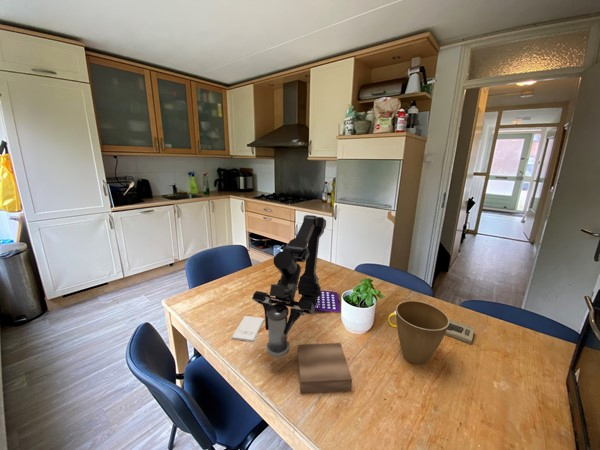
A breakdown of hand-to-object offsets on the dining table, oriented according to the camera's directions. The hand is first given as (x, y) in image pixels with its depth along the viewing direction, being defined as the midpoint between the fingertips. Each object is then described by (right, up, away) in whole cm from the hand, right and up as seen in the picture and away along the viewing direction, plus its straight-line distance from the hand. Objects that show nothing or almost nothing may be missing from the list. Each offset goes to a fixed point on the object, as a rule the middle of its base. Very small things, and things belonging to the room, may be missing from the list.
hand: (276, 332), depth 73 cm
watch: (+44, -8, +24) cm, 50 cm away
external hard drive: (-12, -9, +22) cm, 26 cm away
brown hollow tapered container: (+44, -12, +9) cm, 47 cm away
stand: (+14, -13, +3) cm, 19 cm away
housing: (0, -6, +3) cm, 7 cm away
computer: (+63, -9, +22) cm, 67 cm away
